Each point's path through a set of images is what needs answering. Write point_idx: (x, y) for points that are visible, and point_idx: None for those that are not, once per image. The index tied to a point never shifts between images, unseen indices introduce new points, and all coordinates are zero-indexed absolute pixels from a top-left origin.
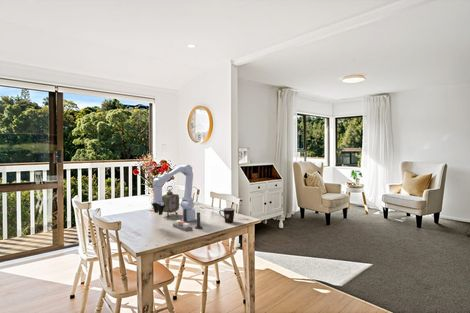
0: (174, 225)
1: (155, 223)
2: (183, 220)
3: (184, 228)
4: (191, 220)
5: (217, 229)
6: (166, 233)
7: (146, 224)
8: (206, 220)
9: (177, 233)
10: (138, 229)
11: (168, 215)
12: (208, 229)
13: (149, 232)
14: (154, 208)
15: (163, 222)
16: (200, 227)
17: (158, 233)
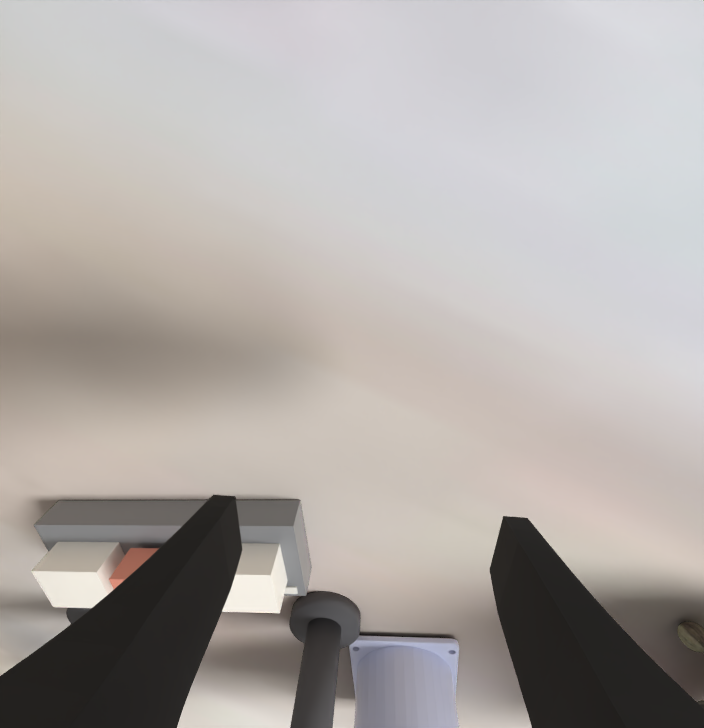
0: (255, 514)
1: (589, 422)
2: (324, 638)
3: (48, 522)
4: (353, 676)
5: (10, 659)
6: (61, 329)
7: (670, 306)
8: (286, 725)
9: (13, 418)
10: (519, 53)
11: (693, 649)
12: (35, 629)
13: (219, 155)
14: (573, 648)
15: (537, 505)
16: (69, 619)
17: (104, 247)
